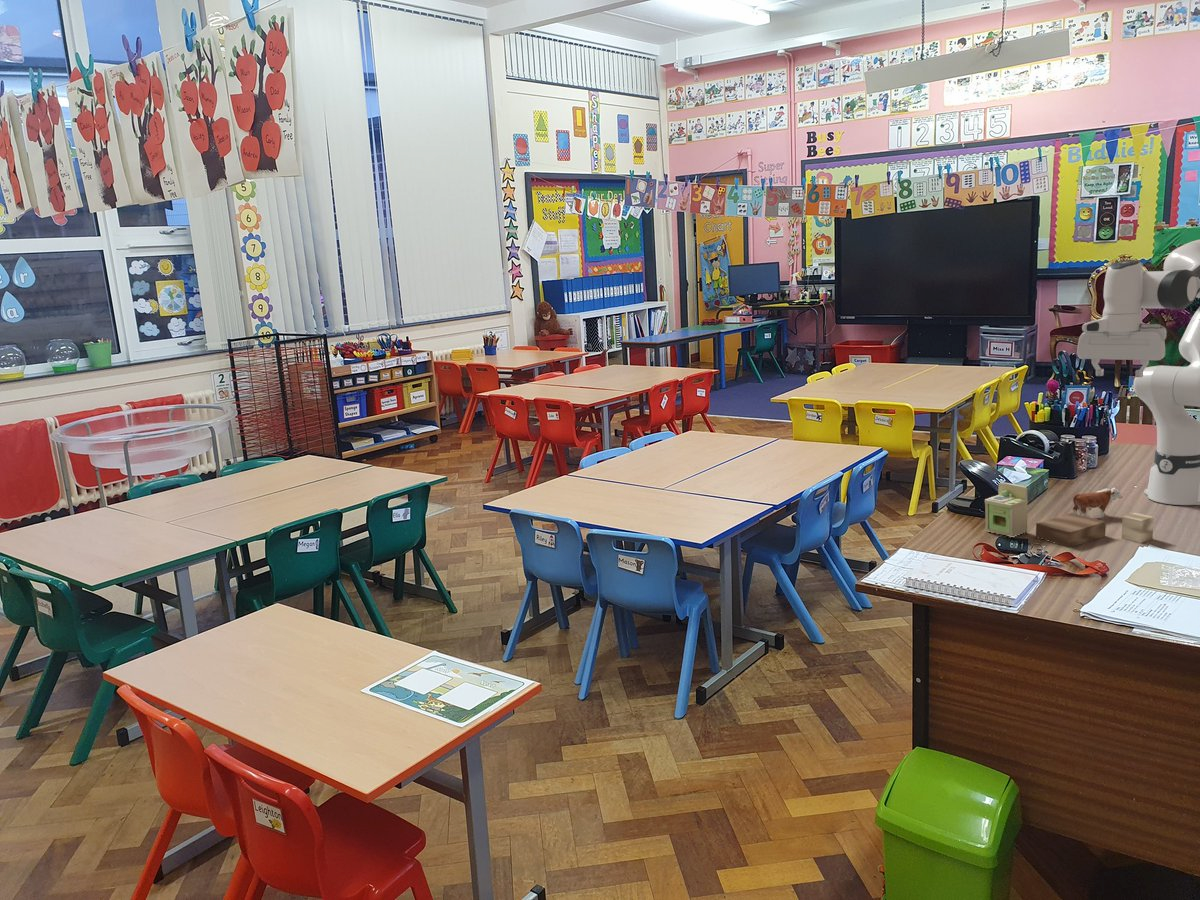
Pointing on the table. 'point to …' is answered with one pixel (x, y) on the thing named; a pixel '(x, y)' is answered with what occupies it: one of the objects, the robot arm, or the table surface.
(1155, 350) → the robot arm
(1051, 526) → the base block
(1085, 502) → the bull figurine
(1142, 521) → the maple block
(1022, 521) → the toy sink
